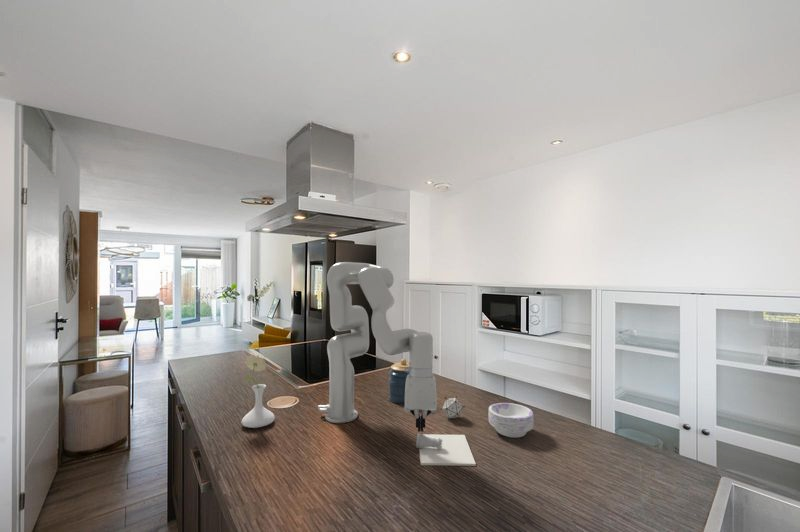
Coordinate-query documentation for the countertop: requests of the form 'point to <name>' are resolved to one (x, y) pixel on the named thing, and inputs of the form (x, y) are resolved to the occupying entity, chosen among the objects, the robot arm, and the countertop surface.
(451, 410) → the game die
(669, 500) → the countertop surface
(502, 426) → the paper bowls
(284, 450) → the countertop surface
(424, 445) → the rook chess piece
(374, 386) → the countertop surface
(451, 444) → the mat
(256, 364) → the flower in vase
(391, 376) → the canister
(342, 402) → the robot arm
